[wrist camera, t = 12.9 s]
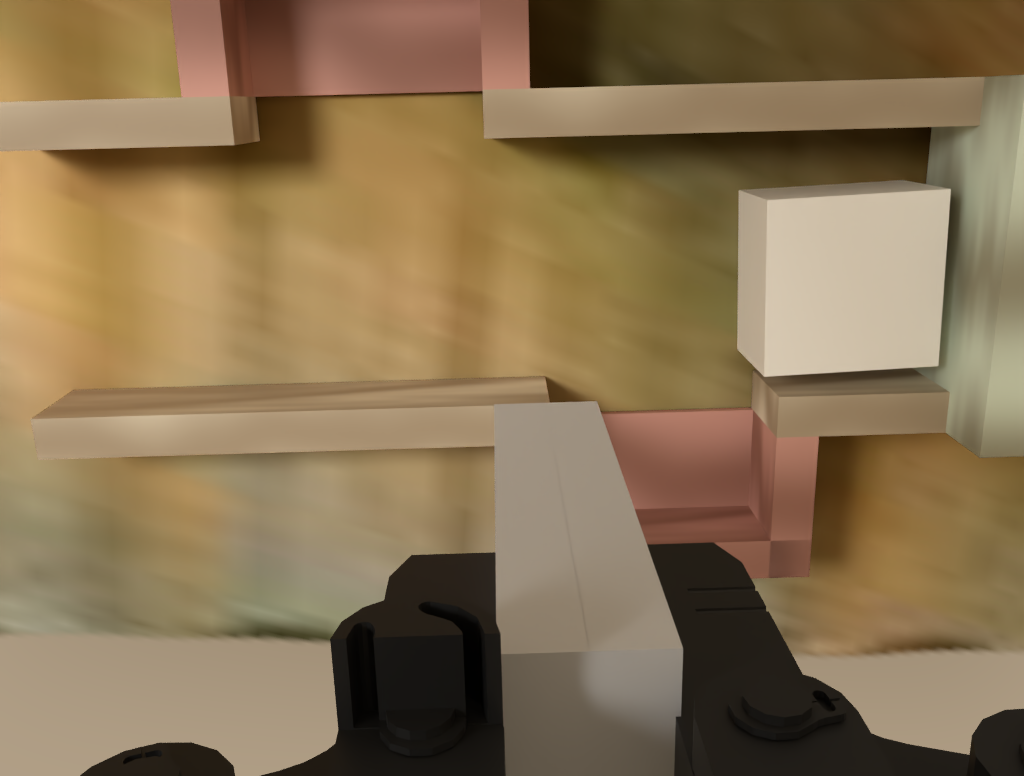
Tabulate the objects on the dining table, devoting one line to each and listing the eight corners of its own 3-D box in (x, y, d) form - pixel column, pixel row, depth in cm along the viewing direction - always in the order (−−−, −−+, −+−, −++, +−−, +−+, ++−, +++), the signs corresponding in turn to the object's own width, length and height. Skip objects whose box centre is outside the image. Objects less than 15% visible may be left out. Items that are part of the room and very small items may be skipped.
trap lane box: (-2, -70, 32) (-111, -108, 26) (996, -94, 32) (1106, -136, 27) (100, 556, 39) (31, 636, 33) (929, 531, 39) (1004, 605, 33)
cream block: (737, 189, 35) (767, 200, 31) (900, 179, 35) (951, 189, 31) (736, 348, 37) (764, 376, 33) (892, 338, 37) (938, 366, 33)
